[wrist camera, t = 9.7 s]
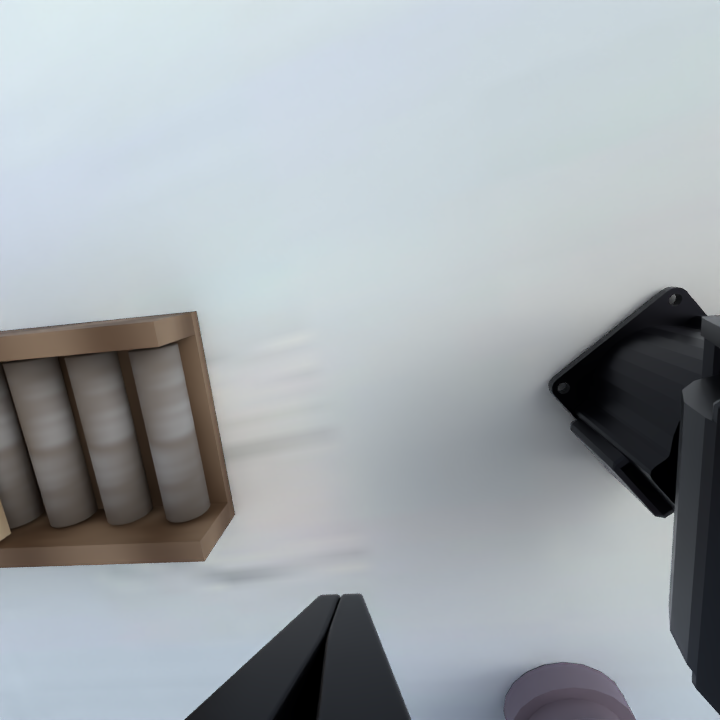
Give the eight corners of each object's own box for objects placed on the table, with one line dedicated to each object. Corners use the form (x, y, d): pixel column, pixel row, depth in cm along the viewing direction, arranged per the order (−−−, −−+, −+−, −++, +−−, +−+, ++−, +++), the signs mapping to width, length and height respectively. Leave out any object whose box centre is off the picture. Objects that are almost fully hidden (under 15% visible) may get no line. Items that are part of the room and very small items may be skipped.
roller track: (196, 311, 19) (119, 329, 14) (234, 514, 22) (181, 596, 16) (-120, 343, 21) (-293, 369, 16) (-54, 527, 24) (-186, 604, 18)
